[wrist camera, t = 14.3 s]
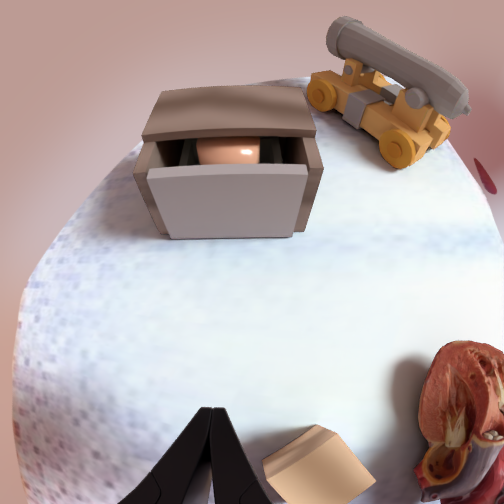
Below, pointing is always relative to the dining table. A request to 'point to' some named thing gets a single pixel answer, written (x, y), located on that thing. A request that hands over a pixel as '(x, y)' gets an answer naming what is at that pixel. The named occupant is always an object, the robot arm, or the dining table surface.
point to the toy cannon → (388, 92)
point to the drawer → (229, 195)
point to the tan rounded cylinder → (229, 150)
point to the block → (317, 470)
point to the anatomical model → (463, 425)
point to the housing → (230, 131)
